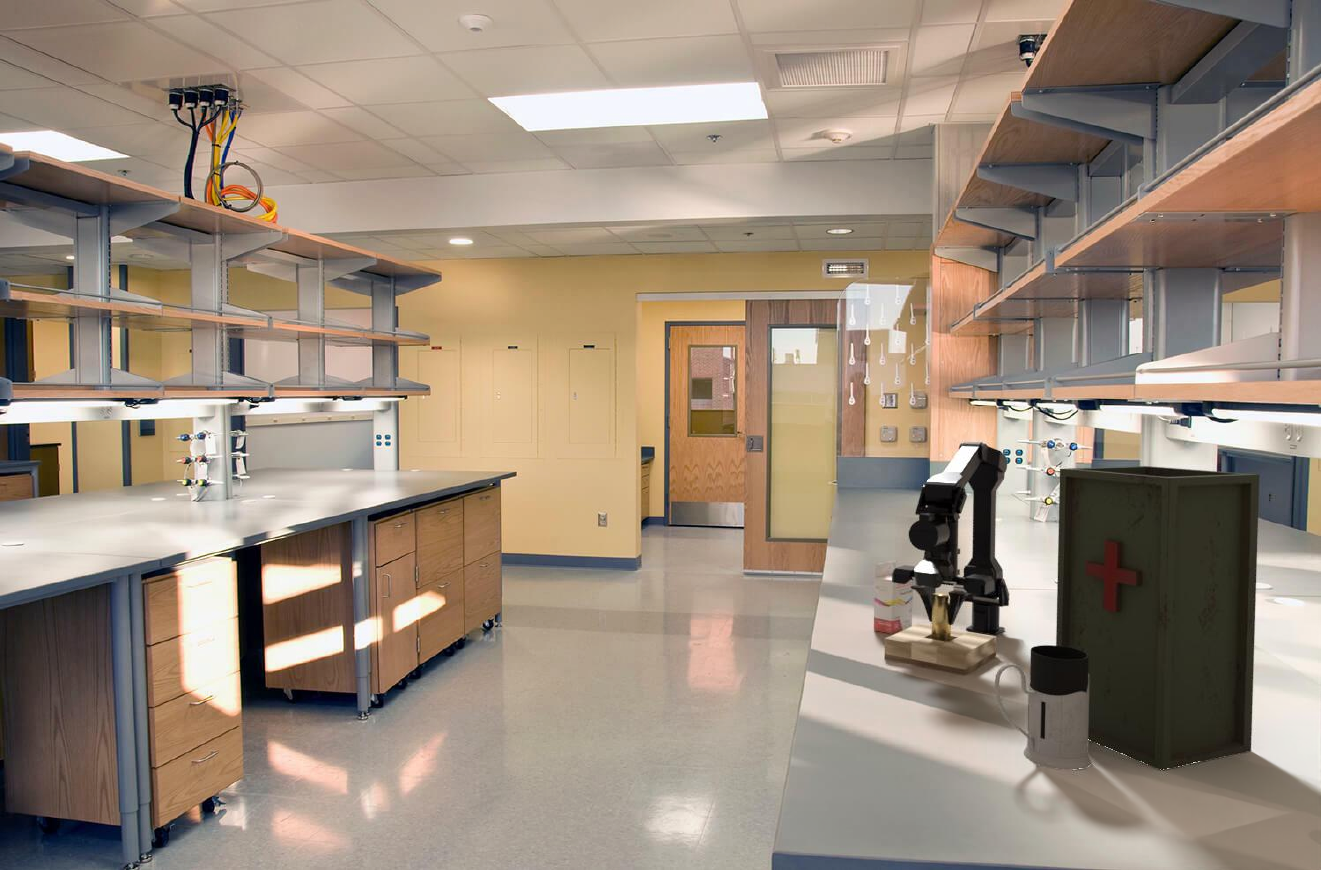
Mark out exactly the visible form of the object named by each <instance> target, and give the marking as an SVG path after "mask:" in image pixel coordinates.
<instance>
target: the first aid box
mask: <svg viewBox="0 0 1321 870" xmlns="http://www.w3.org/2000/svg"><path fill="white" fill-rule="evenodd" d="M1058 493H1059V497H1058V498H1059V499H1058V537H1057V538H1058V541H1057V544H1058V547H1057V587H1056V588H1057V592H1056V627H1055V628H1056V629H1055V630H1056V633H1055V634H1056V637H1055V646H1064V647H1070V648H1074V649H1078V650H1081V651H1084V652H1086V653H1087V654H1088V655H1089V665H1088V673H1089V679H1090V682H1089V725H1088V739H1089V740H1091V741H1093V742H1092V743H1094V742H1095V743H1094V744H1096V743H1098V744H1100V745H1099V746H1101V745H1102V746H1101V747H1103V746H1106V747H1108V748H1111V749H1113V750H1115V751H1117V752H1116V753H1118V752H1119V753H1118V754H1120V753H1123V754H1125V755H1127V756H1129V757H1128V758H1130V757H1131V758H1130V759H1132V758H1133V759H1132V760H1134V759H1135V761H1137V762H1139V761H1142V762H1144V763H1145V765H1146V764H1148V765H1147V766H1149V765H1150V766H1149V767H1151V766H1152V768H1154V769H1156V768H1158V769H1157V770H1159V769H1161V770H1163V769H1167V768H1172V769H1175V768H1174V767H1176V768H1179V767H1178V766H1181V767H1183V766H1182V765H1185V766H1187V765H1186V764H1190V765H1192V764H1191V763H1193V762H1198V761H1203V762H1206V760H1208V761H1211V760H1210V759H1212V760H1216V759H1215V758H1217V759H1221V758H1225V757H1224V756H1226V757H1230V755H1231V756H1234V755H1233V754H1235V755H1238V753H1240V754H1243V753H1247V751H1249V752H1252V737H1253V736H1252V733H1253V732H1252V731H1253V701H1254V671H1255V670H1254V665H1255V664H1254V663H1255V633H1256V632H1255V631H1256V630H1255V629H1256V601H1257V599H1256V598H1257V569H1258V567H1257V566H1258V565H1257V564H1258V561H1257V560H1258V559H1257V558H1258V534H1259V533H1258V532H1259V531H1258V527H1259V504H1260V503H1259V502H1260V501H1259V498H1260V497H1259V496H1260V474H1255V473H1241V472H1231V471H1230V472H1229V471H1228V472H1227V471H1217V470H1203V469H1190V468H1189V469H1188V468H1176V467H1175V468H1174V467H1163V466H1148V465H1143V466H1141V465H1140V466H1139V465H1137V466H1136V465H1135V466H1134V465H1133V466H1105V467H1104V466H1103V467H1102V466H1101V467H1099V466H1098V467H1077V468H1075V467H1073V468H1071V467H1070V468H1059V492H1058ZM1089 740H1088V741H1089ZM1091 741H1090V742H1091ZM1098 744H1097V745H1098ZM1106 747H1105V748H1106ZM1108 748H1107V749H1108ZM1113 750H1112V751H1113ZM1115 751H1114V752H1115ZM1125 755H1124V756H1125ZM1127 756H1126V757H1127ZM1220 757H1221V758H1220ZM1142 762H1141V763H1142ZM1144 763H1143V764H1144ZM1161 770H1160V771H1161ZM1167 770H1168V769H1167ZM1163 771H1164V770H1163Z"/></svg>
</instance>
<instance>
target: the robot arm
mask: <svg viewBox="0 0 1321 870" xmlns="http://www.w3.org/2000/svg"><path fill="white" fill-rule="evenodd" d="M1007 459H1008V458H1007V456H1006V455H1005V454H1004V453H1003V451H1002V450H999V449H996V448H993V447H990V446H989V445H987V443H984V442H982V441H964V442H961V443H959V446H958V450H957V452H956V453H955V455H954V456H953V458H952V460H951V461H950V462H949V463H948V465H947V467H945V469H944V470H943V472H939V473H937V474H934V475H932V476H931V477H929V479H928V480H926V482H925V483H924V484H923V486H922V488H921V490H920V495H919V498H918V502H917V506H916V509H915V516H918V520H916V521H914V522H913V524H911V526H910V527H909V530H908V539H909V542H910V543H911V545H912V546H913V547H914V548H915V549H917V550H920V551H924V552H923V559H922V560H921V561H919V563H918V564H917V565H916V566H912V565H901V566H898V567H896V568H895V569H894V570H893V572H892V582H894V583H901V584H907V583H908V582H909V581H910V580H912V586H910V587H911V589H913V591H916V593H917V594H919V597H920V598H921V601H922V603H923V605H924V609H925V612H926V615H927V617H928V620H929V622H931V623H932V594H934V593H936V592H937V591H936V590H937V589H938V588H940V587H941V586H942V585H944V586H945V585H946V586H952V588H953V590H950V591H948V594H949V596H950V609H949V625H951V626H953V625H954V623H955V622H956V621H955V620H956V618H957V617H958V614H959V613H960V610H961V607H962V606H963V603H964V602H965V603H966V602H967V603H971V625H969V626H967V627H965V631H967V632H973V633H979V634H985V635H991V636H996V635H998V634H1000V633H1001V632H1003V631H1005V629H1006V627H1004V626H1000V613H1001V611H1000V610H1001V609H1000V607H1001V608H1002V607H1009V606H1010V592H1009V590H1008V585H1007V583H1006V581H1005V580H1006V579H1004V577H1003V576H1004V573H1003V568H1002V566H1001V565H1000V563H999V561H998V560H997V558H996V521H997V520H996V518H997V517H996V516H997V515H996V514H997V511H996V510H997V490H998V488H999V487H1000V486H1001V484H1002V483H1003V482H1004V480H1005V473H1006V472H1007V469H1008V460H1007ZM967 484H969V486H970V489H971V490H972V492H973V493H972V494H973V498H972V550H971V551H972V553H971V554H972V555H971V559H970V560H969V562H968V563H967V565H965V566H964V568H963V575H962V576H960V575H961V574H960V573H961V570H960V569H958V566H959V564H958V563H959V560H958V559H959V555H960V554H961V548H959V519H961V516H960V515H961V514H962V512H963V509H964V507H965V504H966V501H967V498H968V495H967V492H966V489H965V487H966V485H967Z"/></svg>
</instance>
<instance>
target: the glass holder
mask: <svg viewBox="0 0 1321 870" xmlns="http://www.w3.org/2000/svg"><path fill="white" fill-rule="evenodd" d="M1029 665H1030V666H1029V667H1030V670H1029V683H1028V690H1027V683H1026V682H1027V680H1026V679H1027V678H1026V675H1025V671H1024V670H1023V669H1022V668H1021V667H1020V666H1019V665H1018V664H1015V663H1006V664H1004V665H1002V666H1001V667H1000V668H998V670H997V672H996V673H995V679H994V692H995V698H996V702H997V705H998V706H999V709H1000V712H1001V713H1002V715H1003V717H1004V718H1005V719H1006V720H1007V721H1008V722H1009V723H1010V724H1011V725H1012V726H1013V727H1014V728H1016V729H1017V730H1018V731H1019V732H1020V733H1022V735H1023V736H1025V737H1026V739H1027V742H1026V747H1025V748H1024V750H1023V756H1024V757H1025V758H1026V759H1028V760H1029V761H1031V762H1032V761H1033V762H1032V763H1034V762H1035V763H1034V764H1037V763H1038V764H1037V765H1039V764H1040V766H1042V765H1043V767H1046V768H1050V769H1054V768H1059V769H1058V770H1062V769H1079V768H1085V769H1087V768H1089V767H1090V766H1091V765H1092V759H1091V757H1090V755H1089V740H1088V725H1089V682H1090V679H1089V673H1088V665H1089V655H1088V654H1087V653H1086V652H1084V651H1081V650H1078V649H1074V648H1070V647H1064V646H1056V645H1053V644H1052V645H1048V644H1045V645H1037V646H1036V645H1035V646H1033V647H1031V648H1030V663H1029ZM1012 667H1013V668H1015V669H1017V671H1018V672H1019V674H1020V680H1021V681H1020V682H1021V685H1020V686H1021V689H1022V691H1023V692H1024V693H1026V694H1028V700H1027V701H1028V702H1027V703H1028V704H1027V732H1026V731H1025V730H1024V729H1022V727H1020V726H1019V725H1017V723H1016V722H1015V721H1013V719H1011V717H1010V716H1009V715H1008V713H1007V711H1006V709H1005V707H1004V705H1003V702H1002V698H1001V695H1000V694H1001V692H1000V679H1001V676H1002V673H1003V672H1004V671H1005V670H1007V669H1008V668H1012ZM1090 764H1091V765H1090ZM1089 765H1090V766H1089ZM1088 766H1089V767H1088ZM1086 767H1087V768H1086Z"/></svg>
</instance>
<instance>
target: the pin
mask: <svg viewBox="0 0 1321 870" xmlns="http://www.w3.org/2000/svg"><path fill="white" fill-rule="evenodd" d="M949 609H950V596H949V593H946V592H945V593H941V592H935V593H934V594H932V622H931V625H932V629H931V639H933V640H939V641H944V642H950V641H951V629H952V628H951V627H952V625H949Z"/></svg>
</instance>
